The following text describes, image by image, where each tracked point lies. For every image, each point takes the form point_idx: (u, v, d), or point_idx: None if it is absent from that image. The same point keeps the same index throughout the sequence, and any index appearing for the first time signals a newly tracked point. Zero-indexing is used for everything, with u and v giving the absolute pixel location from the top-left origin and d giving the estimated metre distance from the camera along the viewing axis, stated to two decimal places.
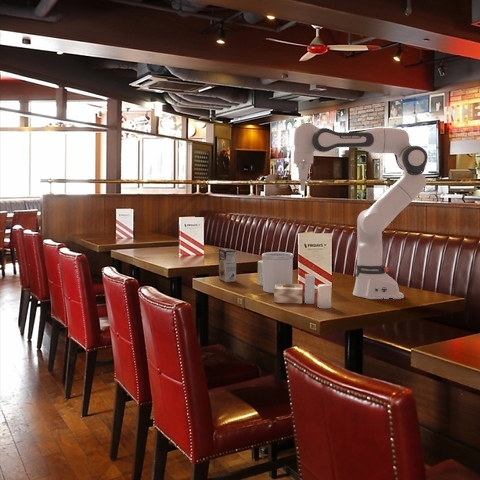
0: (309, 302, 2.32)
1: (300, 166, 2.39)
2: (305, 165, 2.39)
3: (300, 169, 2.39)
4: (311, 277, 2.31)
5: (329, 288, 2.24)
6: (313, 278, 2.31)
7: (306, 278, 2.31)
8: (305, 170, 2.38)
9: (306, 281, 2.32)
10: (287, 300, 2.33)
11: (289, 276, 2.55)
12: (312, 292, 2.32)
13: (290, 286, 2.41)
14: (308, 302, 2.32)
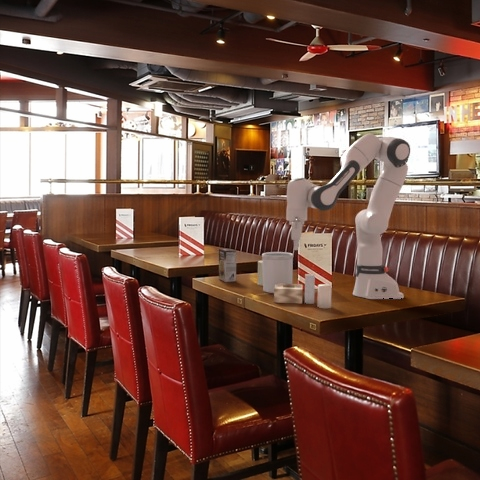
0: (309, 302, 2.32)
1: (293, 225, 2.25)
2: (298, 224, 2.25)
3: (293, 228, 2.25)
4: (311, 277, 2.31)
5: (329, 288, 2.24)
6: (313, 278, 2.31)
7: (306, 278, 2.31)
8: (298, 229, 2.25)
9: (306, 281, 2.32)
10: (287, 300, 2.33)
11: (289, 276, 2.55)
12: (312, 292, 2.32)
13: (290, 286, 2.41)
14: (308, 302, 2.32)
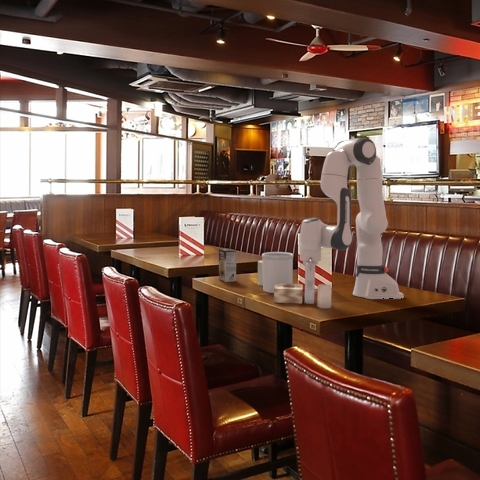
0: (309, 302, 2.32)
1: (307, 267, 2.24)
2: (312, 266, 2.23)
3: (307, 270, 2.23)
4: None
5: (329, 288, 2.24)
6: None
7: None
8: (312, 271, 2.23)
9: (306, 281, 2.32)
10: (287, 300, 2.33)
11: (289, 276, 2.55)
12: (312, 292, 2.32)
13: (290, 286, 2.41)
14: (308, 302, 2.32)
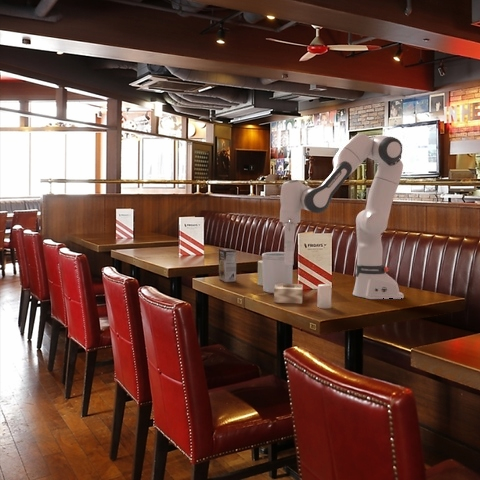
0: (288, 263, 2.36)
1: (286, 227, 2.27)
2: (291, 226, 2.27)
3: (286, 230, 2.27)
4: None
5: (329, 288, 2.24)
6: None
7: None
8: (291, 231, 2.26)
9: (285, 242, 2.35)
10: (287, 300, 2.33)
11: (289, 276, 2.55)
12: (291, 253, 2.35)
13: (290, 286, 2.41)
14: (287, 263, 2.36)
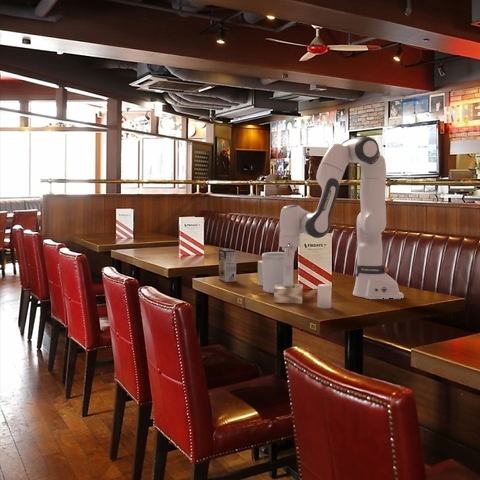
0: None
1: (285, 252, 2.28)
2: (291, 251, 2.28)
3: (285, 255, 2.28)
4: None
5: (329, 288, 2.24)
6: None
7: None
8: (290, 256, 2.27)
9: None
10: (287, 300, 2.33)
11: None
12: (290, 277, 2.36)
13: None
14: None
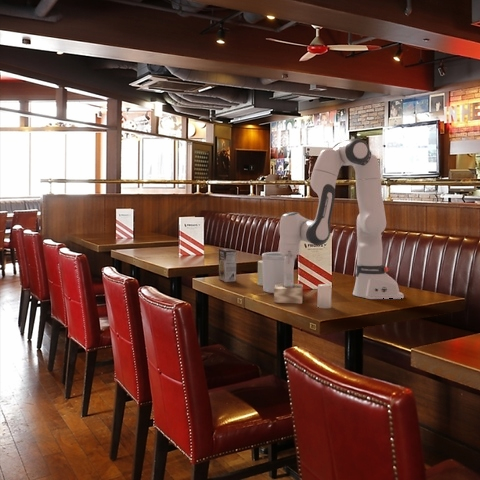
0: None
1: (285, 260, 2.28)
2: (291, 259, 2.28)
3: (285, 263, 2.28)
4: None
5: (329, 288, 2.24)
6: (292, 276, 2.36)
7: (285, 276, 2.36)
8: (291, 264, 2.28)
9: (285, 279, 2.36)
10: (287, 300, 2.33)
11: None
12: None
13: None
14: None
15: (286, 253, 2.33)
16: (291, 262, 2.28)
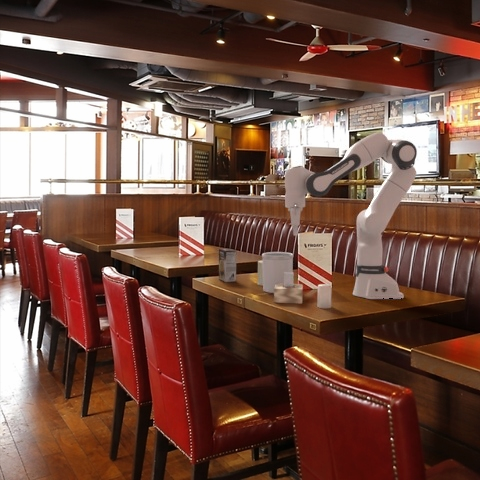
0: None
1: (292, 211, 2.33)
2: (297, 210, 2.33)
3: (292, 214, 2.33)
4: (290, 275, 2.36)
5: (329, 288, 2.24)
6: (292, 276, 2.36)
7: (285, 276, 2.36)
8: (297, 215, 2.33)
9: (285, 279, 2.37)
10: (287, 300, 2.33)
11: None
12: None
13: None
14: None
15: (292, 206, 2.38)
16: (298, 213, 2.33)
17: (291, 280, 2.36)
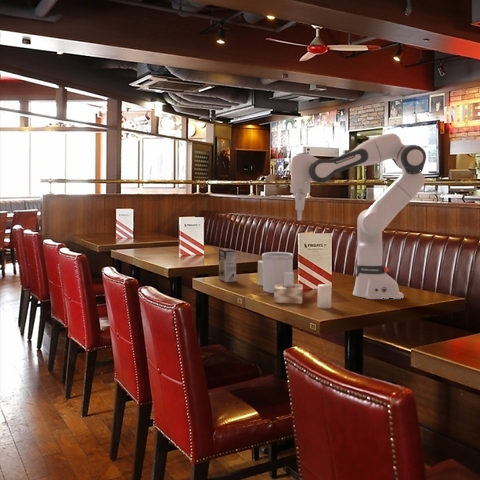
0: None
1: (297, 196, 2.39)
2: (302, 195, 2.39)
3: (297, 199, 2.39)
4: (290, 275, 2.36)
5: (329, 288, 2.24)
6: (292, 276, 2.36)
7: (285, 276, 2.36)
8: (302, 200, 2.38)
9: (285, 279, 2.37)
10: (287, 300, 2.33)
11: None
12: None
13: None
14: None
15: (297, 191, 2.44)
16: (302, 198, 2.38)
17: (291, 280, 2.36)
